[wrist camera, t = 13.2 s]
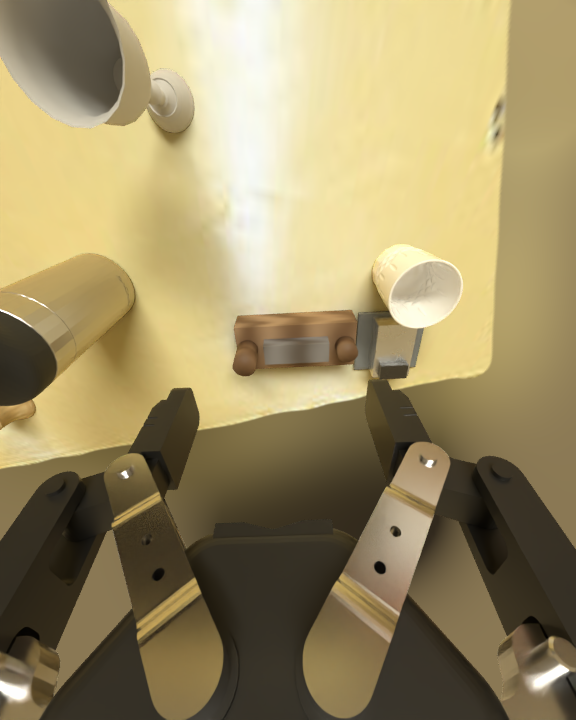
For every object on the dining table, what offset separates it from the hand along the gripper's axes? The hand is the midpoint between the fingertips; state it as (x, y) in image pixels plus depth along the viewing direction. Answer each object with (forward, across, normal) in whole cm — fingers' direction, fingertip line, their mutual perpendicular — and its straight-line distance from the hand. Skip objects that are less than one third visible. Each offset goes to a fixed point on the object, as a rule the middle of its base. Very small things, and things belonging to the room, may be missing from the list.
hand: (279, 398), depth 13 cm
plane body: (+30, -1, +13) cm, 33 cm away
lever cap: (+30, -15, +15) cm, 37 cm away
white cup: (+30, -15, +4) cm, 34 cm away
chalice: (+30, +11, -15) cm, 36 cm away
